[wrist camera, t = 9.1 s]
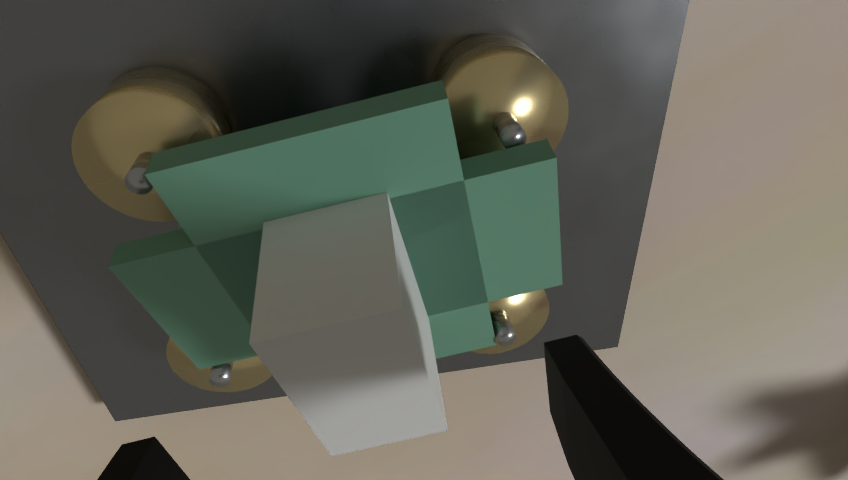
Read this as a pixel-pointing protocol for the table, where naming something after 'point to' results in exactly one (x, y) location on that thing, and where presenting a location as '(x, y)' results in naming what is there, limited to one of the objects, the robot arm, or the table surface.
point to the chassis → (299, 95)
